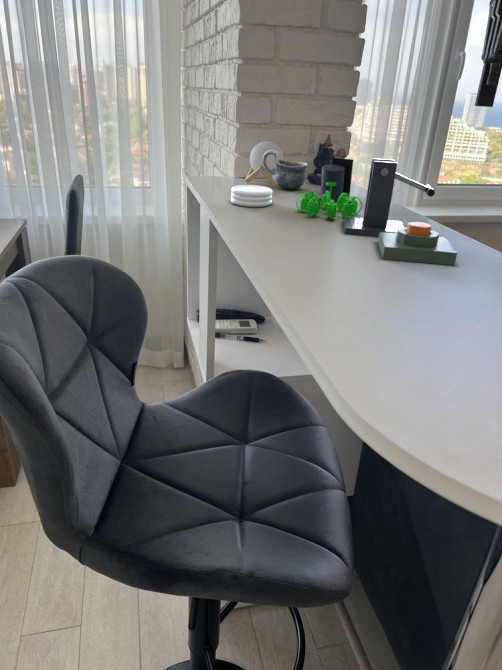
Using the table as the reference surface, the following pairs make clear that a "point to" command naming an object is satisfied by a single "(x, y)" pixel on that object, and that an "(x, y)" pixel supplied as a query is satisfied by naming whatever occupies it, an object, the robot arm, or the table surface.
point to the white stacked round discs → (251, 195)
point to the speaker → (337, 177)
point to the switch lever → (415, 184)
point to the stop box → (416, 247)
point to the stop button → (418, 228)
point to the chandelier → (329, 204)
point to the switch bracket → (376, 202)
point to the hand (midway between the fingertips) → (483, 106)
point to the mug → (286, 172)
